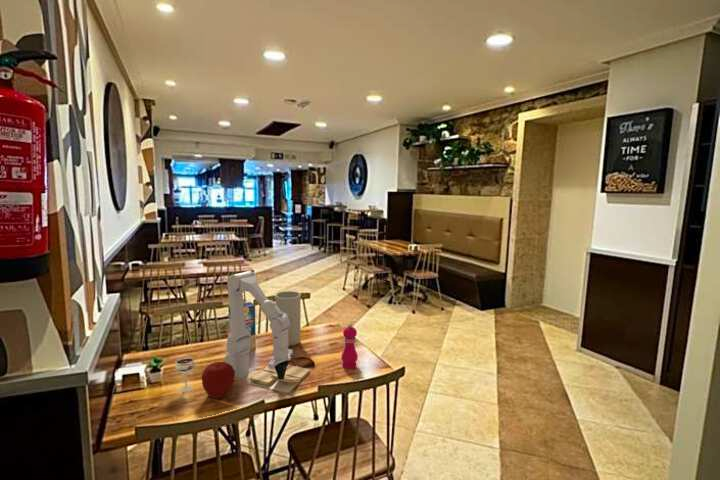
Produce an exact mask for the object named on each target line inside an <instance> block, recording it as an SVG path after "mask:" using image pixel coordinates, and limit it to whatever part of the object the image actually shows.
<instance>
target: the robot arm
mask: <svg viewBox="0 0 720 480" xmlns="http://www.w3.org/2000/svg"><path fill="white" fill-rule="evenodd" d="M226 284H227V291H228V292H227V293H228V294H227V295H228V303H229V304H228V305H230V314H231V324H232V332H231V334H230V335H229V334H228V336H227V337H226V339H227V342H226V351H227V353H226V355H225V359H224V362H225V363H228V364H230V365H231V366H233V369H234V371H235V377H237V378H244V377H246V376H247V375H248V374H250V373H252V372H253V371H254V368H252V367H250V352H251V350H250V348H251V347H252V346H253V340H252V338H251V334H250V332H249V331H247V330H246V329H245V318H244V308H243V303H244V300H243V299H244V298H243V293H244V292H248V293H249V294H250V295H251V296H252V297H253V299H254V300H256V301H257V303H259V304H260V310H261V312H262V313H263V315H264V316H265V317H266V319H267V320H268V321H269V329H270V330H271V333H272V336H273V337H272V340H273V345H272V346H273V347H272V348H273V350H272V351H273V355H272V358H271V360H270V362H268V365H267V366H268V368H269V369H274V368H275V370H276V372H277V376H278V379H281V380H283V378H284V376H285V372H286V369H287V366H288V365H290V359H291V357H290V355H292V354H293V350H294V349H289V346H288V329H287V328H289V327H290V326H291V318H290V317H289V315H288V314H285V313H284V312H281V311H280V309H279V308H278V307H277V305H276V304H275V301H273V300H272V299H269V298H267V296H266V295H265V293H264V291H263V289H262V288H261V286H260V285H259V284H258V278H257V276H256V275H255V273H254V272H253V271H252V270H246V271H243V272H238V273H235V274H231V275H229V276H228V278H227V279H226Z"/></svg>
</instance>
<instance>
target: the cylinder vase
mask: <svg viewBox="0 0 720 480" xmlns="http://www.w3.org/2000/svg"><path fill="white" fill-rule="evenodd" d="M274 297H275V301H274V302H275V304H276V305H277V307H278V308H279V309H280V311H281V312H284V313H285V314H288V315H289V317H290V318H291V326H290V327H289V328H287V329H288V347H292V346H296V345H297V344H299V343H300V342H301V318H302V317H301V310H302V309H301V306H302V305H301V300H302V299H301V298H302V297H301V293H300V292H298V291H293V290H292V291H291V290H289V291H288V290H287V291H286V290H285V291H280V292H277V293H275V296H274Z"/></svg>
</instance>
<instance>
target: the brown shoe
mask: <svg viewBox="0 0 720 480" xmlns="http://www.w3.org/2000/svg"><path fill="white" fill-rule="evenodd" d="M292 350H293V354H292V355H290V357H291V359H290V360H289V362H291V363H292V365H293V366H297V367H302V368H307V369H308V368H310V367H315V361H314V360H313V359H312V358H311V357H310V356H309V354H308V353H306V351H304V350H303V349H302V348H301V347H300V346H299V345H298V346H296V347H295V348H294V349H292Z"/></svg>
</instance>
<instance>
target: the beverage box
mask: <svg viewBox="0 0 720 480" xmlns="http://www.w3.org/2000/svg"><path fill="white" fill-rule="evenodd" d="M243 308H244V318H245V329H246V330H247V331H249V332H250V334H251V338H252V340H253V346H252V347H251V348H250V351H251V350H256V348H257V347H256V345H257V342H256V340H257V339H256V305H255V304H254V303H253V302H251V301H247V302H243ZM227 309H228V336H229V335H230V334H231V332H232V324H231V314H230V304H228V308H227Z"/></svg>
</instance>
